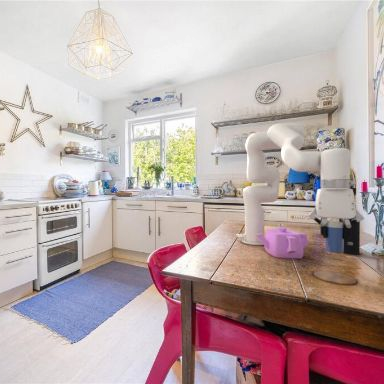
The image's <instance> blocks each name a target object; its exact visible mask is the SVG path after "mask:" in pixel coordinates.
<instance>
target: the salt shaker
mask: <svg viewBox="0 0 384 384" xmlns="http://www.w3.org/2000/svg"><path fill="white" fill-rule="evenodd" d="M325 225H326V227H327V238H325V251H326V252H329V253H333V254H344V253H343V250H344V227H343V223H342V222H341V221H332V220H331V221H330V220H328V221H326V223H325Z"/></svg>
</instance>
